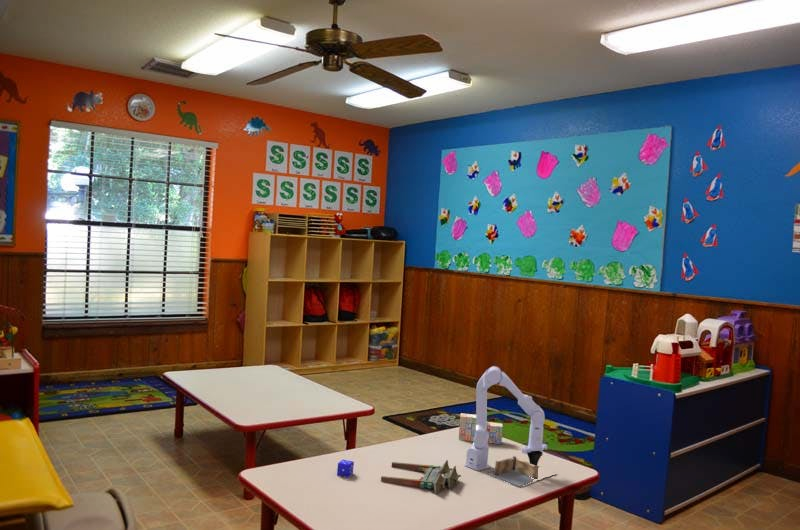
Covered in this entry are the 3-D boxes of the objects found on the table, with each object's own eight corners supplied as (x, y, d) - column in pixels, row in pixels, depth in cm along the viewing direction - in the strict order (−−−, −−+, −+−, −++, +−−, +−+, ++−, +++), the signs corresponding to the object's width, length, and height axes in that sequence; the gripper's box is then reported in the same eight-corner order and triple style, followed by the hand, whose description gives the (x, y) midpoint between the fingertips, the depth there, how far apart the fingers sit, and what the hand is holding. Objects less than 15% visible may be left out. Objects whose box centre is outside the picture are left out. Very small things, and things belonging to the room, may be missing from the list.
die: (336, 475, 243) (337, 462, 243) (341, 471, 248) (342, 459, 248) (348, 477, 242) (349, 465, 241) (353, 473, 246) (354, 461, 246)
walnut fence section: (496, 475, 255) (498, 462, 255) (493, 474, 257) (495, 461, 257) (516, 469, 265) (517, 457, 265) (513, 468, 266) (514, 456, 266)
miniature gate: (394, 455, 263) (463, 461, 256) (394, 468, 263) (463, 474, 256) (378, 476, 236) (454, 483, 230) (378, 490, 236) (454, 498, 230)
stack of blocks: (500, 441, 307) (502, 417, 307) (501, 445, 301) (503, 420, 301) (458, 436, 310) (460, 412, 309) (458, 440, 303) (460, 415, 303)
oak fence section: (514, 470, 263) (515, 458, 263) (517, 469, 264) (518, 457, 264) (535, 479, 254) (537, 466, 254) (538, 478, 255) (539, 466, 255)
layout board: (519, 487, 246) (519, 486, 246) (487, 474, 257) (488, 473, 257) (556, 474, 265) (556, 472, 265) (526, 463, 277) (526, 461, 277)
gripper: (532, 441, 255) (529, 473, 255) (553, 437, 264) (551, 468, 264) (519, 436, 260) (516, 467, 261) (540, 432, 269) (538, 462, 270)
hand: (533, 467), depth 263 cm, fingers closed
